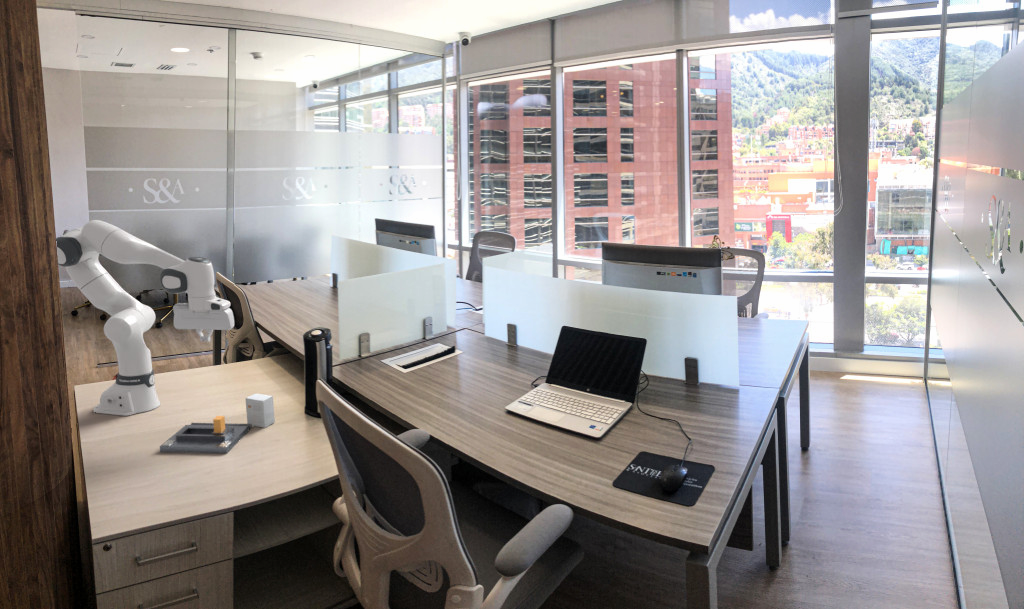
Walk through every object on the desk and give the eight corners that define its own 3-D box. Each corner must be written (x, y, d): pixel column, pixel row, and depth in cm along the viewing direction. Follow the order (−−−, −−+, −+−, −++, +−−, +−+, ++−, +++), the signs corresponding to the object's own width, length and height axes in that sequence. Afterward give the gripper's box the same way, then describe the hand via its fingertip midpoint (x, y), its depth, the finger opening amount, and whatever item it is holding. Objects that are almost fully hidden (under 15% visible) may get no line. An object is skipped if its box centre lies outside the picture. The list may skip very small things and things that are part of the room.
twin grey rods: (188, 429, 233) (188, 425, 233) (193, 425, 236) (192, 422, 236) (249, 430, 234) (249, 426, 233) (253, 426, 237) (252, 423, 236)
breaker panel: (160, 452, 215) (159, 441, 214) (186, 430, 232) (185, 420, 232) (227, 453, 215) (226, 443, 214) (248, 431, 233) (247, 421, 232)
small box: (275, 422, 241) (273, 395, 239) (264, 428, 236) (263, 400, 234) (257, 419, 244) (255, 392, 241) (246, 425, 238) (245, 397, 236)
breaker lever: (211, 437, 221) (210, 420, 220) (216, 432, 225) (215, 415, 224) (223, 437, 221) (222, 420, 220) (228, 432, 225) (227, 415, 224)
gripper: (168, 304, 227) (171, 342, 229) (227, 305, 227) (230, 344, 230) (177, 300, 233) (180, 338, 236) (234, 302, 233) (237, 339, 236)
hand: (205, 341), depth 233 cm, fingers closed
